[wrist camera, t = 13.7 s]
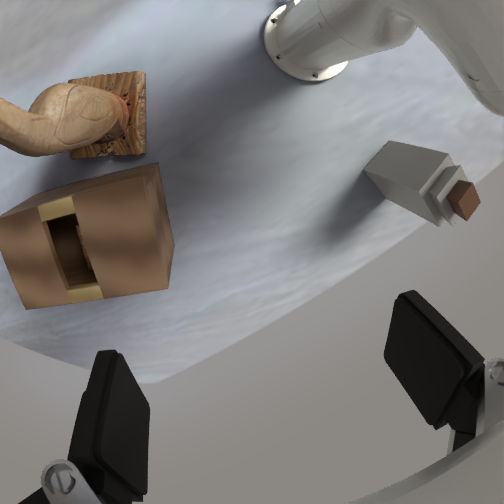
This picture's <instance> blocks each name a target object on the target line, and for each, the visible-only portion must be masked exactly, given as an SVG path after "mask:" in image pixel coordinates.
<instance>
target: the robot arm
mask: <svg viewBox="0 0 504 504" xmlns="http://www.w3.org/2000/svg"><path fill="white" fill-rule="evenodd" d="M271 21H273V22H274V23H272V22H271ZM417 26H418V27H419V28H420V29H421V30H422V31H423V32H424V34H425V35H426V36H427V37H428V38H429V39H430V40H431V41H432V42H433V43H434V44H435V45H436V46H437V47H438V48H439V49H440V51H441V52H442V53H443V54H444V56H445V57H446V58H447V59H448V61H449V62H450V63H451V65H452V66H453V67H454V69H455V70H456V71H457V73H458V74H459V75H460V77H461V78H462V80H463V81H464V82H465V84H466V85H467V87H468V88H469V90H470V91H471V92H472V94H473V95H474V96H475V98H476V99H477V100H478V101H479V102H480V103H481V104H482V105H483V106H484V107H485V108H486V109H488V110H489V111H491V112H492V113H494V114H496V115H499V116H502V117H504V0H293V2H291V3H287V4H285V5H283V6H280V7H279V8H278V9H276V10H275V11H274V12H273V13H272V14H271V15H270V17H269V18H268V20H267V22H266V24H265V27H264V34H263V38H264V45H265V48H266V51H267V53H268V54H269V56H270V58H271V60H272V61H273V62H274V63H275V64H276V65H277V66H278V67H279V68H280V69H281V70H282V71H284V72H285V73H287V74H289V75H290V76H292V77H295V78H297V79H300V80H305V81H323V80H326V79H330V78H332V77H334V76H336V75H338V74H339V73H340V72H342V71H343V69H344V68H345V67H346V66H347V64H348V62H349V61H350V60H353V59H356V58H360V57H363V56H367V55H370V54H374V53H377V52H381V51H385V50H389V49H393V48H396V47H398V46H400V45H402V44H404V43H405V42H407V41H408V40H409V39H410V38H411V36H412V35H413V34H414V32H415V30H416V28H417ZM276 56H278V57H279V59H276ZM312 75H314V76H315V77H313V76H312ZM384 359H385V361H386V363H387V364H388V366H389V367H390V369H391V370H392V371H393V373H394V374H395V376H396V377H397V379H398V380H399V382H400V383H401V384H402V386H403V387H404V389H405V390H406V392H407V393H408V395H409V396H410V398H411V399H412V401H413V402H414V404H415V405H416V407H417V408H418V410H419V411H420V413H421V414H422V416H423V417H424V419H425V420H426V422H427V423H428V424H429V425H433V427H434V428H435V430H437V429H439V428H441V427H443V426H444V425H446V424H447V423H449V425H450V427H451V431H450V437H449V444H448V450H447V455H446V457H444V458H442V459H441V460H439V461H438V462H436V463H434V464H432V465H430V466H429V467H427V468H425V469H423V470H421V471H419V472H417V473H415V474H414V475H412V476H410V477H408V478H406V479H404V480H401V481H399V482H398V483H395V484H393V485H391V486H388V487H386V488H384V489H382V490H379V491H377V492H375V493H372V494H370V495H367V496H365V497H362V498H360V499H357V500H354V501H352V502H349V503H346V504H504V359H502V358H494V359H491V360H490V361H489V362H487V364H486V366H485V364H484V363H483V362H484V360H485V359H484V358H483V357H482V356H481V354H480V353H479V352H478V351H477V350H476V349H475V348H474V347H473V346H472V345H471V344H470V343H469V342H468V341H467V340H466V339H465V338H464V337H463V336H462V335H461V334H460V333H459V332H458V331H457V330H456V329H455V328H454V327H453V326H452V325H451V324H450V323H449V322H448V321H447V320H446V319H445V318H444V317H443V316H442V315H441V314H440V313H439V312H438V311H437V310H436V309H435V308H434V307H433V306H432V305H431V304H429V303H428V302H427V301H426V300H425V299H424V298H423V297H422V296H421V295H420V294H419V293H418V292H417V291H415V290H411V291H407V292H404V293H401V294H399V296H398V298H397V299H396V300H395V302H394V307H393V313H392V318H391V323H390V328H389V333H388V337H387V342H386V346H385V350H384ZM149 421H150V407H149V403H148V402H147V400H146V398H145V396H144V394H143V393H142V391H141V389H140V387H139V385H138V384H137V382H136V380H135V378H134V376H133V374H132V372H131V370H130V369H129V367H128V365H127V363H126V361H125V359H124V357H123V355H122V354H121V353H117V351H116V350H103V351H98V353H97V355H96V358H95V361H94V365H93V368H92V371H91V375H90V378H89V382H88V385H87V389H86V391H85V392H84V393H83V395H82V398H81V402H80V406H79V410H78V414H77V418H76V422H75V426H74V431H73V435H72V439H71V444H70V449H69V454H68V459H67V460H63V459H58V460H54V461H52V462H50V463H49V464H48V465H46V467H45V468H44V470H43V471H42V475H41V485H42V487H41V488H40V489H38V490H37V491H36V492H34V493H33V494H31V495H30V496H29V497H27V498H26V499H24V500H23V501H21V502H20V503H18V504H132V501H135V502H143V495H146V494H147V487H148V486H147V485H148V482H147V481H148V480H147V479H148V476H147V475H148V440H149Z"/></svg>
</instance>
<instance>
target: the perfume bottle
mask: <svg viewBox="0 0 504 504" xmlns="http://www.w3.org/2000/svg"><path fill="white" fill-rule="evenodd" d="M363 170H364V171H365V173H366V174H367V175H368V176H369V177H370V179H371V180H372V181H373V182H374V184H375V185H376V186H377V188H378V189H379V190H380V191H381V193H382V194H383V195H384V197H385V198H386V199H388V200H390V201H392V202H394V203H396V204H398V205H400V206H402V207H403V208H405V209H407V210H409V211H411V212H413V213H415V214H417V215H418V216H420V217H422V218H424V219H426V220H428V221H430V222H431V223H433V224H435V225H436V226H438V227H441V226H442V224H443V223H444V222H445V221H446V220H447V221H448V222H449V224H450V225H451V226H453V225H454V224H455V223H456V221H457V220H458V219H459V217H461V218H463V219H464V220H466V221H467V220H468V219H469V218H470V216H471V215H472V213H473V212H474V211H475V210H476V208H477V207H478V205H479V204H480V199H479V197H478V194H477V192H476V190H475V187H474V185H473V183H471V182H468V180H467V177H466V175H465V173H464V171H463V169H462V167H461V165H459V166H455V165H454V163H453V161H452V159H451V157H450V155H449V154H447V153H443V152H439V151H435V150H431V149H427V148H423V147H418V146H414V145H409V144H404V143H399V142H394V141H388V142H387V144H386V145H385V146H384V147H383V148H382V149H381V150H380V151H379V153H378V154H377V155H376V156H375V157H374V158H373V159H372V160H371V161H370V163H369V164H368V165H367V166H366V167H365V168H364V169H363Z"/></svg>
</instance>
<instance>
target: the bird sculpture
mask: <svg viewBox="0 0 504 504" xmlns="http://www.w3.org/2000/svg"><path fill="white" fill-rule="evenodd" d="M82 79H83V80H82ZM84 80H85V81H84ZM110 81H111V82H110ZM81 83H82V84H81ZM110 85H112V87H110ZM104 87H106V88H107V89H104ZM110 88H112V90H111V91H110V90H109V89H110ZM145 89H146V73H144V72H140V71H135V72H129V73H128V72H123V73H120V74H119V73H116V74H112V75H111V74H106V75H97V76H92V77H90V78H89V77H84V78H80V79H72V80H69V81H68V83H59V84H56V85H53V86H51V87H49V88H47V89H46V90H44V91H43V92H42V93H41V94H40V95H39V96H38V97H37V98H36V99H35V101H34V102H33V104H32V105H31V107H30V109H29V111H28V112H27V111H25V110H23V109H21V108H19V107H17V106H16V105H13V104H12V103H10V102H7V101H5V100H4V99H2V98H0V144H2V145H4V146H6V147H7V148H9V149H11V150H13V151H15V152H17V153H19V154H22V155H25V156H31V157H40V156H48V155H54V154H57V153H62V152H66V151H69V153H70V159H71V160H73V159H77V158H78V159H80V158H82V159H83V158H84V157H86V158H90V157H102V156H108V153H110V152H111V151H113V149H114V150H115V151H114V152H116V154H115V155H128V154H130V155H133V154H134V155H138V154H142V153H146V106H145V105H146V90H145ZM105 90H106V91H105ZM127 91H128V95H127V96H126V97H123V95H124V94H127ZM121 96H122V98H121ZM127 103H130V104H131V105H127ZM130 118H132V119H131V121H130V122H129V123H128V121H129V120H130ZM129 124H131V125H129ZM122 134H123V137H119V136H121V135H122ZM120 140H121V142H120ZM106 142H108V146H110V148H108V149H107V147H108V146H107V143H106ZM112 142H113V145H112V144H111V143H112ZM128 146H130V147H128ZM101 147H102V148H101ZM112 147H113V148H112ZM106 149H107V150H106ZM99 150H102V151H103V152H105V153H104V154H105V155H104V154H103V153H102V152H100V151H99ZM105 150H106V151H108V152H106V151H105ZM98 153H100V154H98ZM96 154H98V155H96ZM113 155H114V154H113Z"/></svg>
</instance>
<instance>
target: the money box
mask: <svg viewBox="0 0 504 504" xmlns="http://www.w3.org/2000/svg"><path fill="white" fill-rule="evenodd" d="M78 223H79V227H80V230H81V234H82V237H83V240H84V243H85V247H86V250H87V253H88V256H89V259H90V262H91V265H92V268H93V269H92V270H89V268H88V265H87V262H86V259H85V256H84V253H83V249H82V246H81V243H80V239H79V236H78V232H77V228H76V225H77V224H78ZM0 250H1V253H2V256H3V258H4V261H5V264H6V266H7V269H8V271H9V274H10V276H11V278H12V281H13V283H14V285H15V288H16V290H17V292H18V294H19V297H20V299H21V301H22V303H23V305H24V307H25V309H26V310H29V309H36V308H44V307H51V306H58V305H65V304H72V303H79V302H86V301H93V300H100V299H106V298H113V297H120V296H126V295H132V294H139V293H145V292H151V291H158V290H164V289H168V286H169V279H170V272H171V265H172V258H173V252H174V240H173V236H172V231H171V227H170V222H169V217H168V212H167V208H166V203H165V197H164V192H163V187H162V182H161V176H160V171H159V165H158V163H154V164H149V165H144V166H140V167H135V168H131V169H126V170H122V171H118V172H114V173H110V174H106V175H102V176H98V177H94V178H90V179H87V180H83V181H79V182H76V183H72V184H69V185H65V186H62V187H59V188H55V189H52V190H49V191H46V192H43V193H40V194H37V195H34V196H32V197H31V198H29V199H27V200H25V201H24V202H22V203H20V204H19V205H17V206H15V207H14V208H12V209H11V210H9V211H7V212H6V213H4V214H3V215H1V216H0Z"/></svg>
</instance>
